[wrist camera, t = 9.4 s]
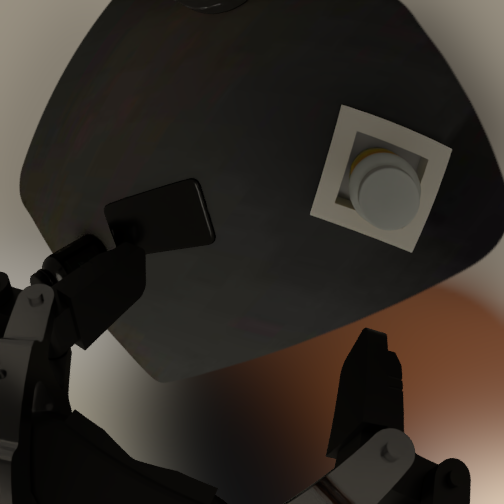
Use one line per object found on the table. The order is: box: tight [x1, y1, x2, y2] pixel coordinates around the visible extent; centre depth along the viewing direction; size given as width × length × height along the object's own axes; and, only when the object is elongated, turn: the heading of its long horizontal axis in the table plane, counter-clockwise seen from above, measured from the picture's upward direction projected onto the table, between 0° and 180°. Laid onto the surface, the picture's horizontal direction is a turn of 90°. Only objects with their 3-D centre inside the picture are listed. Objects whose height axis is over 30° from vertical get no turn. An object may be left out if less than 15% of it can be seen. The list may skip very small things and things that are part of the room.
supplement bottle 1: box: [30, 235, 106, 287], centre depth 36 cm, size 7×7×12 cm
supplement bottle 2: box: [349, 147, 421, 230], centre depth 20 cm, size 5×5×10 cm
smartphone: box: [104, 178, 216, 254], centre depth 35 cm, size 8×1×16 cm
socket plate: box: [310, 105, 452, 253], centre depth 23 cm, size 10×10×3 cm
